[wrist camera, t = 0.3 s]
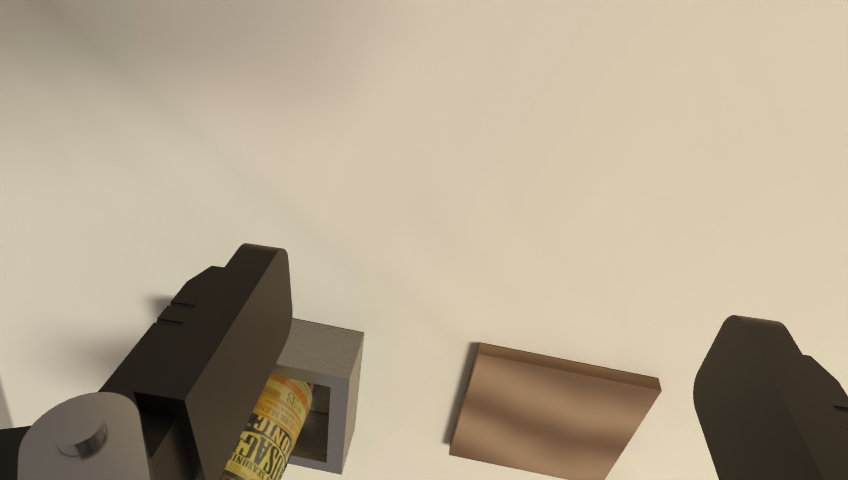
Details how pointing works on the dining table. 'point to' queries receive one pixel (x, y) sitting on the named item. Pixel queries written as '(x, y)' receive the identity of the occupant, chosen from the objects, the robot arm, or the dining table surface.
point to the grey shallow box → (329, 366)
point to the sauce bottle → (271, 431)
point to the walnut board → (549, 413)
